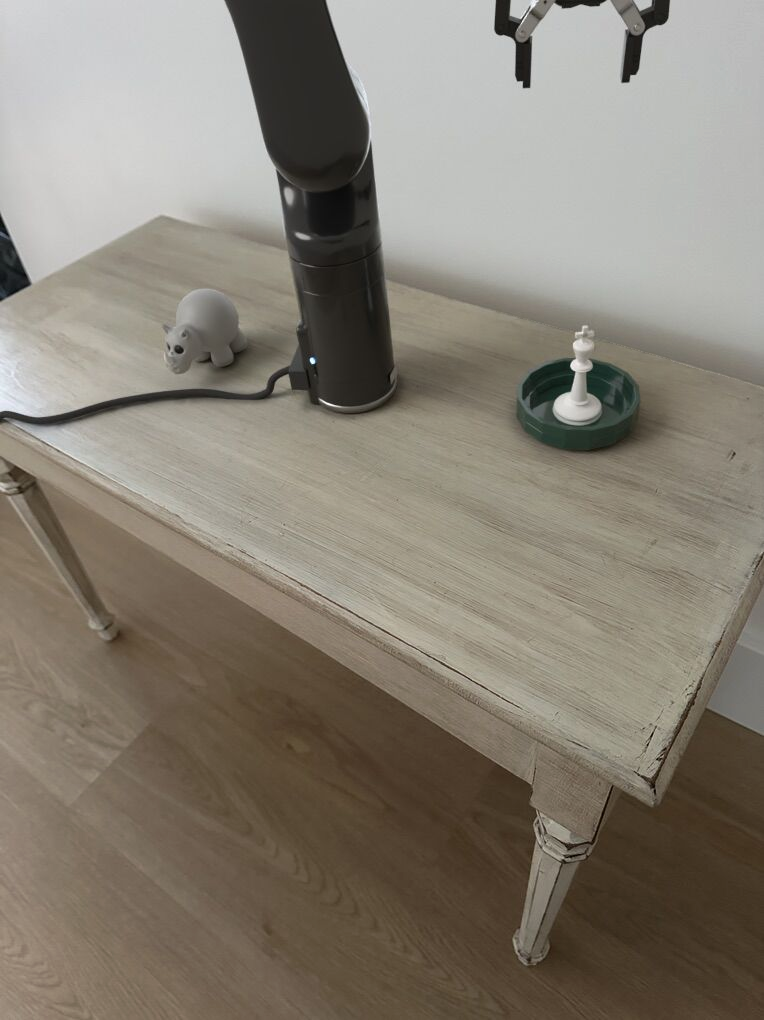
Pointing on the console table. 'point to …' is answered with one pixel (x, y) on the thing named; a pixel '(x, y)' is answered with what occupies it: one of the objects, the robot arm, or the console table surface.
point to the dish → (558, 378)
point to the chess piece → (579, 387)
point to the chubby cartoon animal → (203, 331)
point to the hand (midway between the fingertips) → (574, 83)
